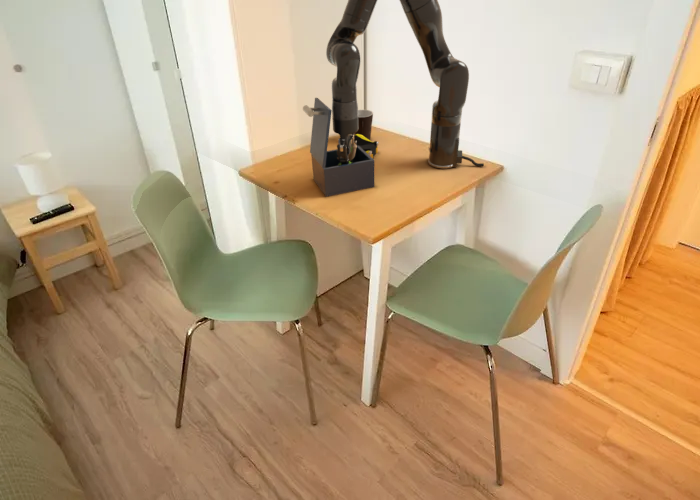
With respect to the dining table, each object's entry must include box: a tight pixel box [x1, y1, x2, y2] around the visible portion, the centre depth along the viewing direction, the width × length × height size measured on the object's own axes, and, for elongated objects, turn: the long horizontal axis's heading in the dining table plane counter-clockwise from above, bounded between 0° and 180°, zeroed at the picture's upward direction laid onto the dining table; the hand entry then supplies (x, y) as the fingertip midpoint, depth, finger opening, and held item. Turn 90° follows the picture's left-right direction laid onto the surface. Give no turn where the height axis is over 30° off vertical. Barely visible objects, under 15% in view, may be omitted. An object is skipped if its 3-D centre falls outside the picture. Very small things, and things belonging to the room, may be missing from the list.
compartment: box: [310, 145, 375, 198], centre depth 143 cm, size 16×13×9 cm
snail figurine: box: [337, 141, 357, 166], centre depth 142 cm, size 5×6×12 cm
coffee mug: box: [354, 109, 374, 141], centre depth 172 cm, size 12×9×10 cm
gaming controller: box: [354, 134, 379, 159], centre depth 162 cm, size 15×6×10 cm
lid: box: [302, 97, 332, 168], centre depth 133 cm, size 17×13×5 cm
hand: (347, 168), depth 144 cm, fingers closed on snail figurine, 5 cm apart
